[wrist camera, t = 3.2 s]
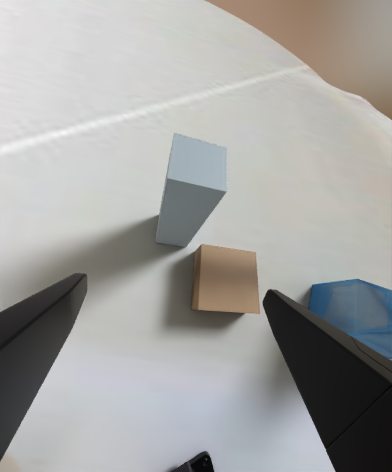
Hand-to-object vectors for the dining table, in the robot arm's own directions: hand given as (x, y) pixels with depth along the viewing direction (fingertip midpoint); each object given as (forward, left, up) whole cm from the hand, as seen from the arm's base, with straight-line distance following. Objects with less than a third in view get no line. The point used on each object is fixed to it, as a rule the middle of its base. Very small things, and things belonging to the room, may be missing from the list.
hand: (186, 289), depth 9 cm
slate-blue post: (+8, -3, -13) cm, 15 cm away
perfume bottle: (-9, -21, -13) cm, 27 cm away
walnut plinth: (0, -7, -13) cm, 15 cm away
